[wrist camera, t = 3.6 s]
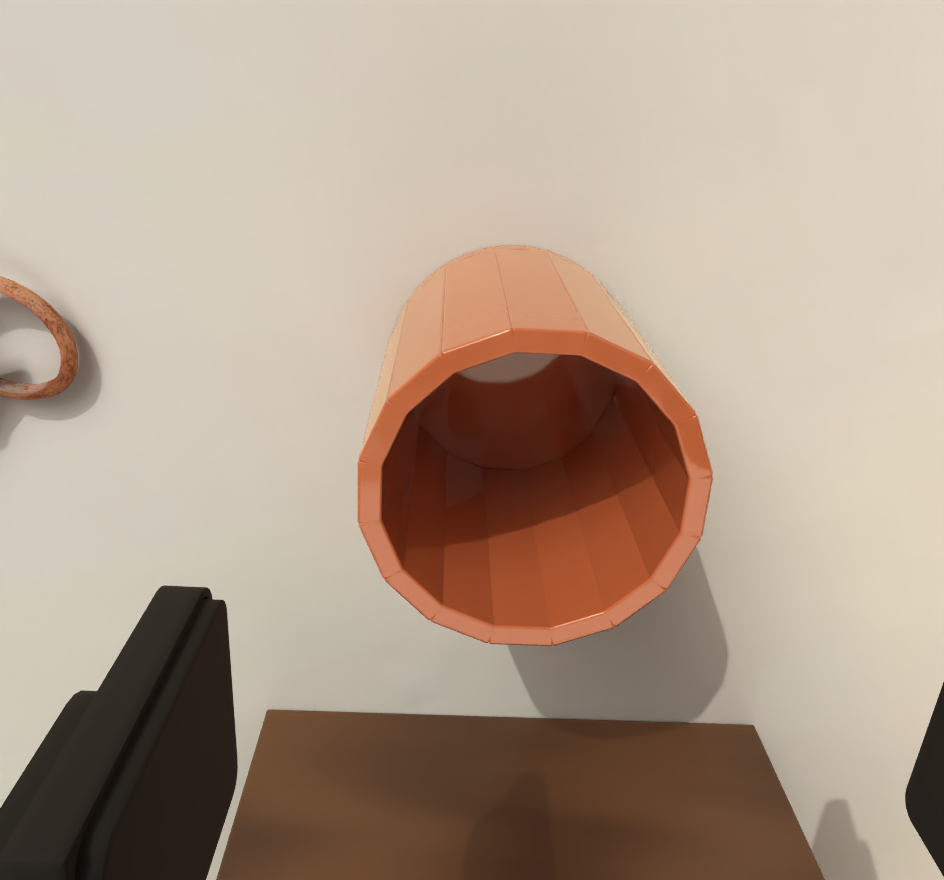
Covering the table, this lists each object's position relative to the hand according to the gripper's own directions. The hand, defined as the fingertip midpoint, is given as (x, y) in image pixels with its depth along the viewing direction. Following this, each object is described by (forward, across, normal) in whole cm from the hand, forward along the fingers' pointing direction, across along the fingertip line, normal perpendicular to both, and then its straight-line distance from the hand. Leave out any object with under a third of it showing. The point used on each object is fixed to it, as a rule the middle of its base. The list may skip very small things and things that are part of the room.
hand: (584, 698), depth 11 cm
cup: (+13, 0, 0) cm, 13 cm away
